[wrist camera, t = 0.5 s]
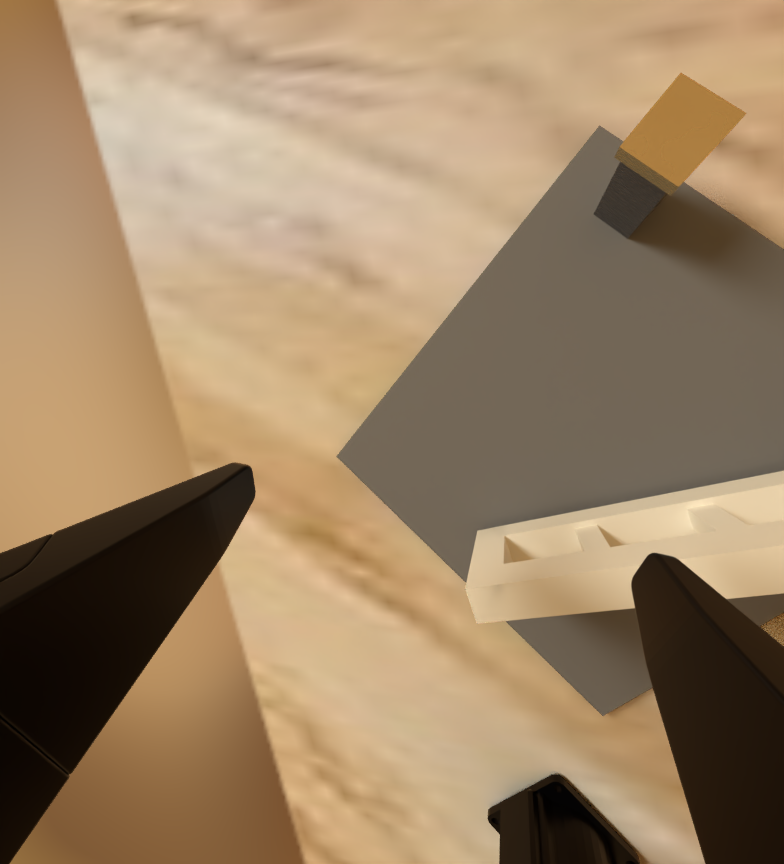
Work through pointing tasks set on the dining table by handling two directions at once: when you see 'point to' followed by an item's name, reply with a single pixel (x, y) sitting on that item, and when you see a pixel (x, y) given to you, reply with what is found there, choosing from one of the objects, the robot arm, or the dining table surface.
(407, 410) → the mat
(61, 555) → the robot arm
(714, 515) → the gate
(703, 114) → the post
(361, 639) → the dining table surface
